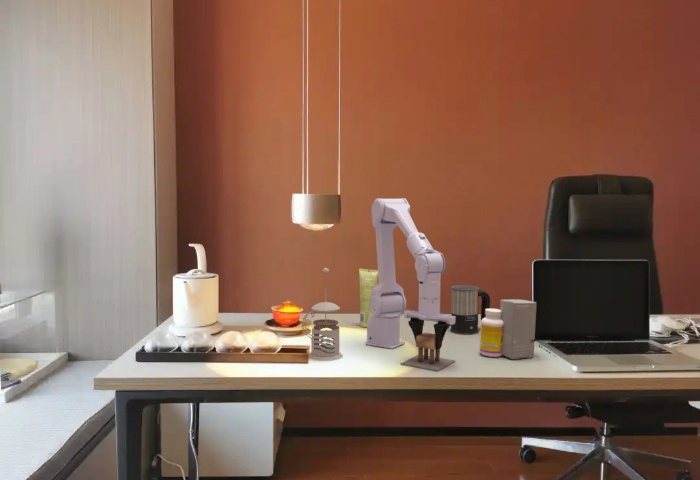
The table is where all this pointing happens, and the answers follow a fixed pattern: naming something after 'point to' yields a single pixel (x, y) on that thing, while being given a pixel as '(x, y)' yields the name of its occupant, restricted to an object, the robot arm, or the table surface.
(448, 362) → the pad
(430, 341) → the tan box with knobs
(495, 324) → the supplement bottle
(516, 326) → the skincare box
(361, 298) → the tube
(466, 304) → the milk frother
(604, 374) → the table surface
